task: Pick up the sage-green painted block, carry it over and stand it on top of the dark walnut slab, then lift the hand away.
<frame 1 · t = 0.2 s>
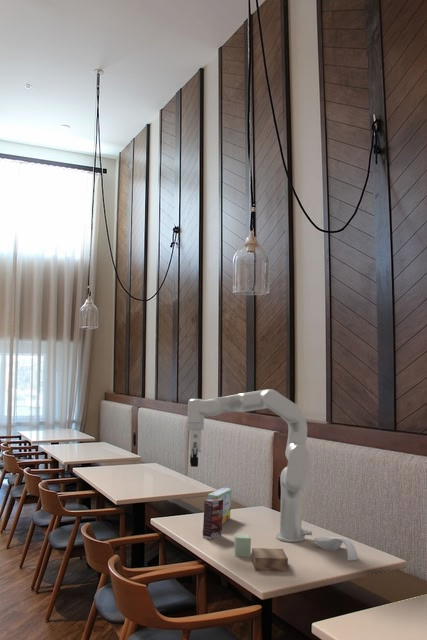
hand: (193, 464, 250), 31 cm above the table, tool pointing down, fingers open, 9 cm apart
spoon rest: (336, 553, 232), on the table
walnut slab: (269, 566, 211), on the table
sage block: (242, 554, 224), on the table
snack box: (218, 523, 273), on the table
supplement box: (212, 536, 248), on the table
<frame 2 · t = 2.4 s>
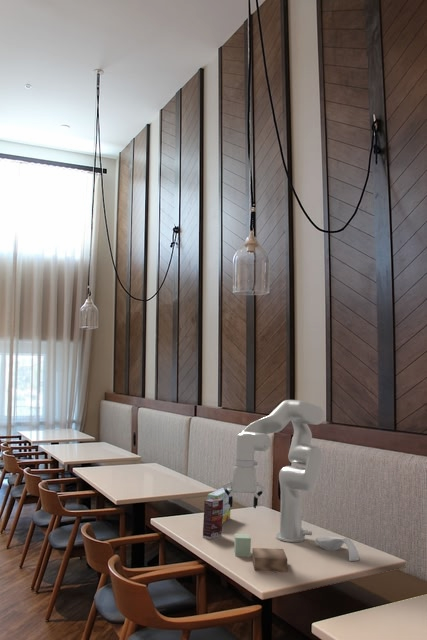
hand: (242, 507, 226), 18 cm above the table, tool pointing down, fingers open, 9 cm apart
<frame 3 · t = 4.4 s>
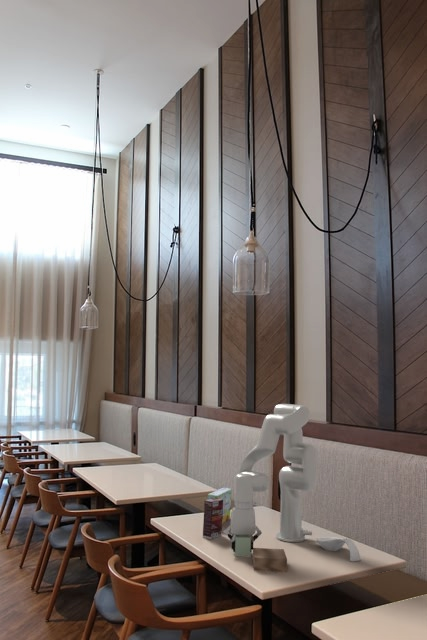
hand: (242, 550, 225), 1 cm above the table, tool pointing down, fingers closed on sage block, 6 cm apart
sage block: (242, 553, 224), on the table, touching gripper
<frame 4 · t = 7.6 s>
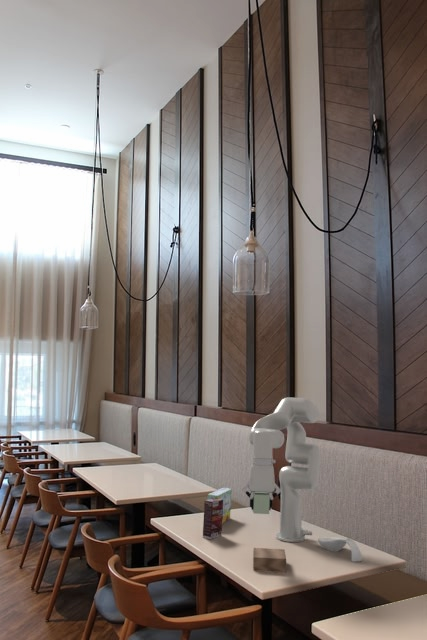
hand: (260, 508, 217), 20 cm above the table, tool pointing down, fingers closed on sage block, 6 cm apart
sage block: (260, 512, 217), point 19 cm above the table, touching gripper
when the fingers open (8 cm above the table, at t = 10.8 s): sage block drops 2 cm, point 5 cm above the table.
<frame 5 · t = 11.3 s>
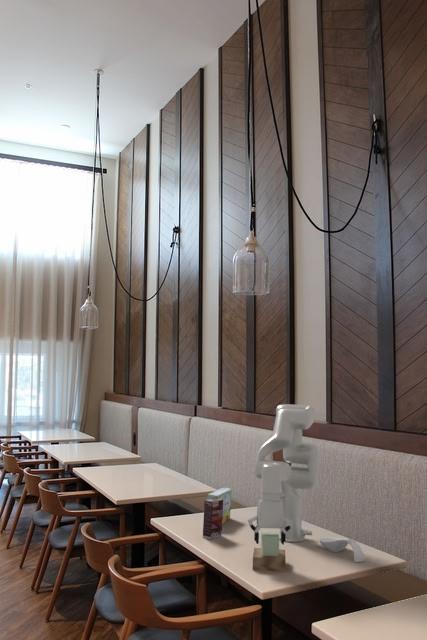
hand: (269, 543, 212), 8 cm above the table, tool pointing down, fingers open, 9 cm apart
sage block: (269, 553, 211), point 5 cm above the table
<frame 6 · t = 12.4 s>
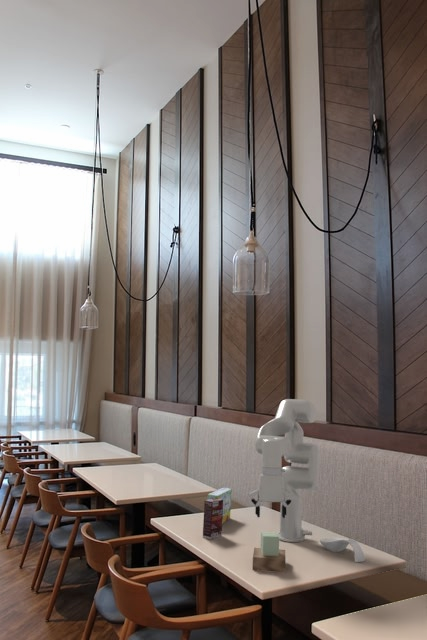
hand: (270, 516, 213), 18 cm above the table, tool pointing down, fingers open, 9 cm apart
walnut slab: (269, 567, 211), on the table, touching sage block
sage block: (269, 553, 211), point 5 cm above the table, touching walnut slab
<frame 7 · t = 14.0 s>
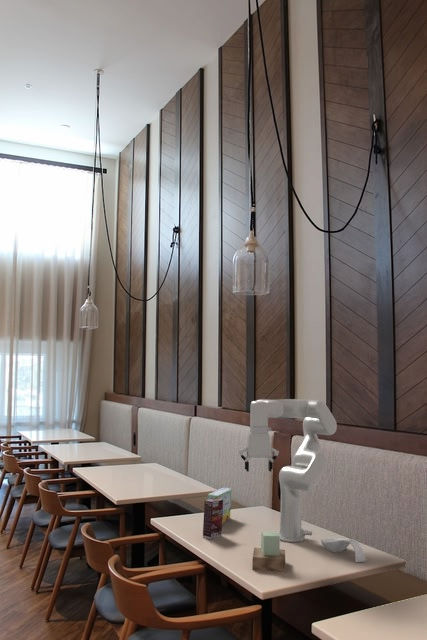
hand: (258, 471, 236), 32 cm above the table, tool pointing down, fingers open, 9 cm apart
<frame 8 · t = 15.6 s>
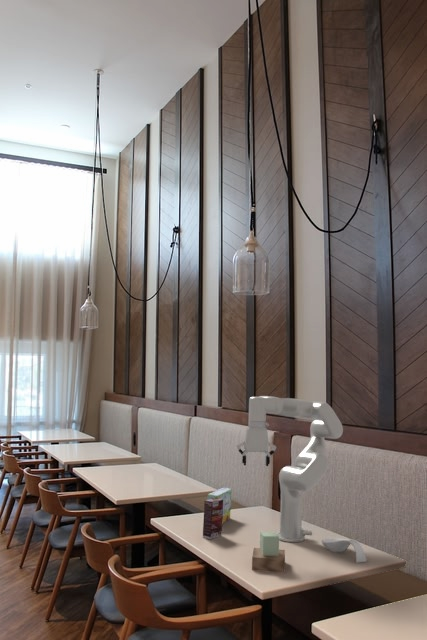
hand: (255, 465, 240), 33 cm above the table, tool pointing down, fingers open, 9 cm apart
walnut slab: (268, 567, 211), on the table
sage block: (269, 553, 211), point 5 cm above the table
at the end: sage block inside the target area on the walnut slab (0.1 cm from its centre), point 5.0 cm above the walnut slab's base; sage block tilted 0°; the gripper is holding nothing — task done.
